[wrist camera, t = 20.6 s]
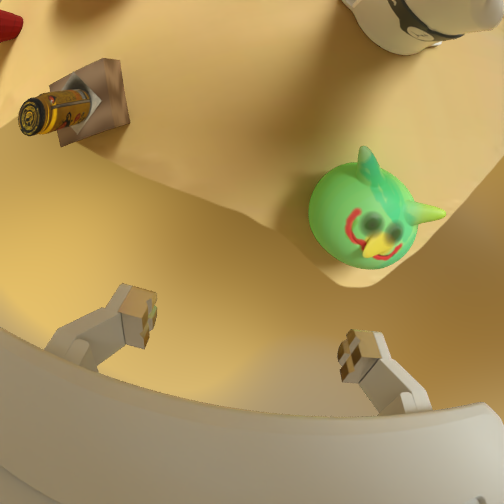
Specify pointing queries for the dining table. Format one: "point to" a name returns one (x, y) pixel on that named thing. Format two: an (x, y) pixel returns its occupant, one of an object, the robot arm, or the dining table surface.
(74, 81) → the condiment
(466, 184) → the dining table surface
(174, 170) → the dining table surface
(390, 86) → the dining table surface
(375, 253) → the toy bird
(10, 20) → the plastic cup
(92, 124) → the walnut block
